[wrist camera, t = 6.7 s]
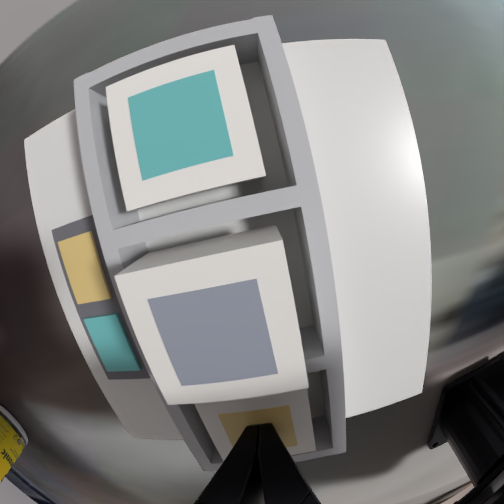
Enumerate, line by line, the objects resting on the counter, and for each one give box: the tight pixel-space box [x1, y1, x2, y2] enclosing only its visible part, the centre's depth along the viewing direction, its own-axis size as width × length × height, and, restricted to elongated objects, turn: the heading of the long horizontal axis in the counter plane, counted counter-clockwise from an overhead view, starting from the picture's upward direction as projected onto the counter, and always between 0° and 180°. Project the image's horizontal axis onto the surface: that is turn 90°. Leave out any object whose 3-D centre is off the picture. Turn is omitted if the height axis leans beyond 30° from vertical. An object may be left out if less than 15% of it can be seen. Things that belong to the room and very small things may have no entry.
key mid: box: [114, 225, 309, 405], centre depth 7 cm, size 3×3×2 cm
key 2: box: [194, 388, 316, 461], centre depth 9 cm, size 3×3×2 cm
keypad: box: [24, 15, 431, 471], centre depth 9 cm, size 14×14×4 cm
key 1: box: [106, 45, 266, 211], centre depth 7 cm, size 3×3×2 cm
